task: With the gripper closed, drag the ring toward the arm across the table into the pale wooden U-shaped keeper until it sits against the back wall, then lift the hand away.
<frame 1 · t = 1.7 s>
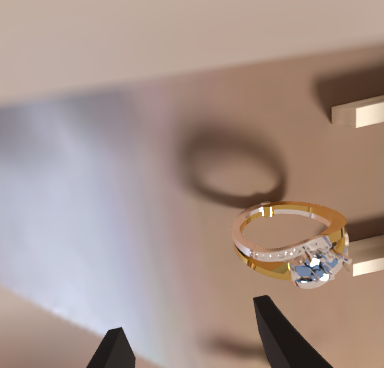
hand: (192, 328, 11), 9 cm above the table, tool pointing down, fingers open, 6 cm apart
ring: (264, 204, 20), on the table
keeper: (374, 181, 19), on the table
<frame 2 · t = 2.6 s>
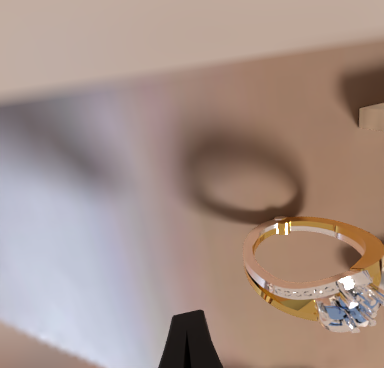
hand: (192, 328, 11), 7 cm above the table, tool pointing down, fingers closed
ring: (277, 220, 17), on the table
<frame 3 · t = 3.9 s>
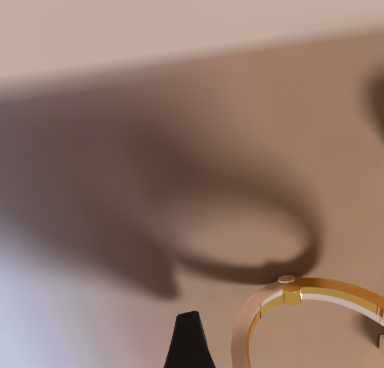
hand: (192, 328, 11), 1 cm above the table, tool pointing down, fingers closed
ring: (282, 279, 12), on the table, touching gripper
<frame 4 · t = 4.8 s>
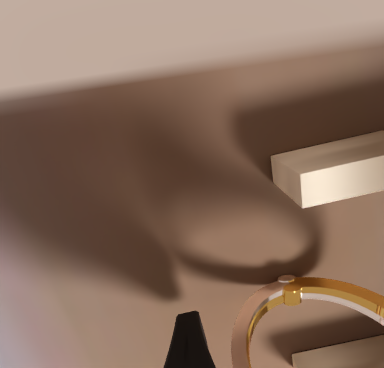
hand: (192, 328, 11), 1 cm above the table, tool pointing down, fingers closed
ring: (282, 278, 12), on the table, touching gripper
keeper: (350, 267, 12), on the table
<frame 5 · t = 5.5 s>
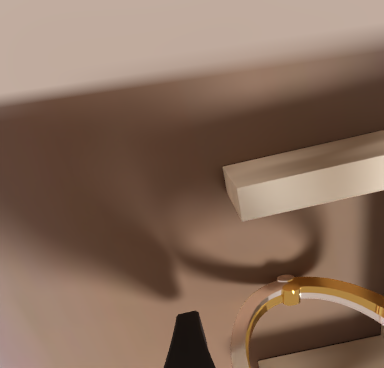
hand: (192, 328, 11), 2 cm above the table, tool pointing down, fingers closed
ring: (281, 278, 12), on the table, touching gripper
keeper: (311, 275, 12), on the table
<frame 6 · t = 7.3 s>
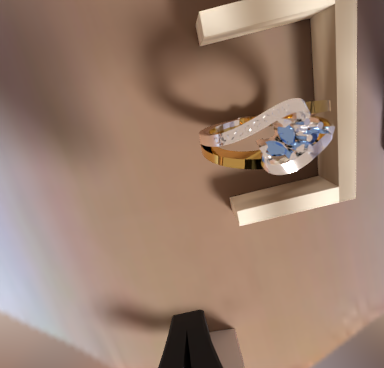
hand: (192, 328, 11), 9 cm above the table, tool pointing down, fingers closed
ring: (242, 122, 17), on the table
keeper: (262, 118, 17), on the table
lighter: (200, 337, 24), on the table
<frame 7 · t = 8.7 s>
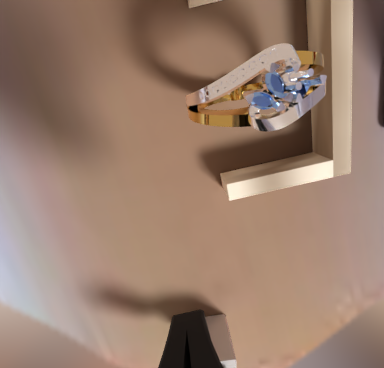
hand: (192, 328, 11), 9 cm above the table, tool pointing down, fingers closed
ring: (233, 93, 17), on the table
keeper: (254, 88, 16), on the table
lighter: (189, 323, 24), on the table
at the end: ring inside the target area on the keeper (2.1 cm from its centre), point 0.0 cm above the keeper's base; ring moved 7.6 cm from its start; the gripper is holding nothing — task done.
